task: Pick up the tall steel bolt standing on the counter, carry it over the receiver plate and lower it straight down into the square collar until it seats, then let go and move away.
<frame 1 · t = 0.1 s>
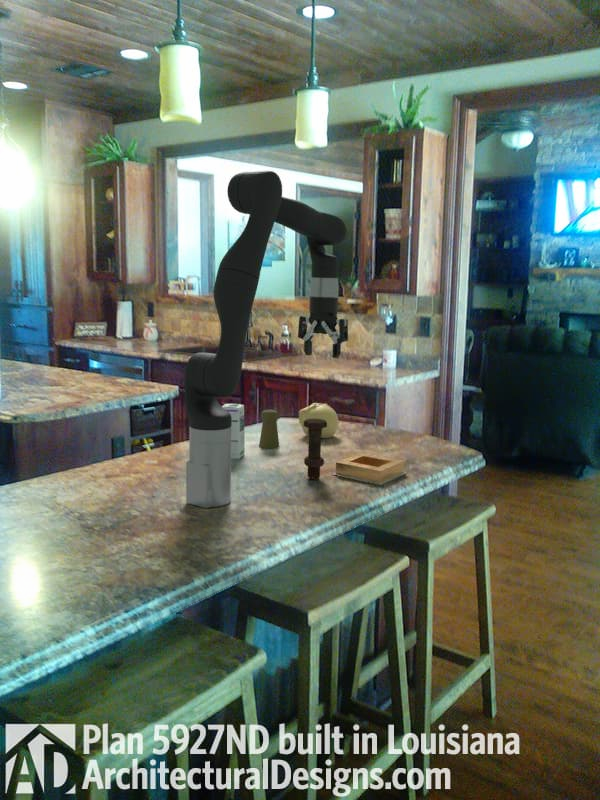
hand: (321, 356, 193), 29 cm above the countertop, tool pointing down, fingers open, 8 cm apart
receiver: (370, 474, 187), on the countertop
cork: (269, 447, 214), on the countertop
sculpture: (319, 437, 229), on the countertop
syrup box: (231, 456, 202), on the countertop
bolt: (313, 479, 182), on the countertop
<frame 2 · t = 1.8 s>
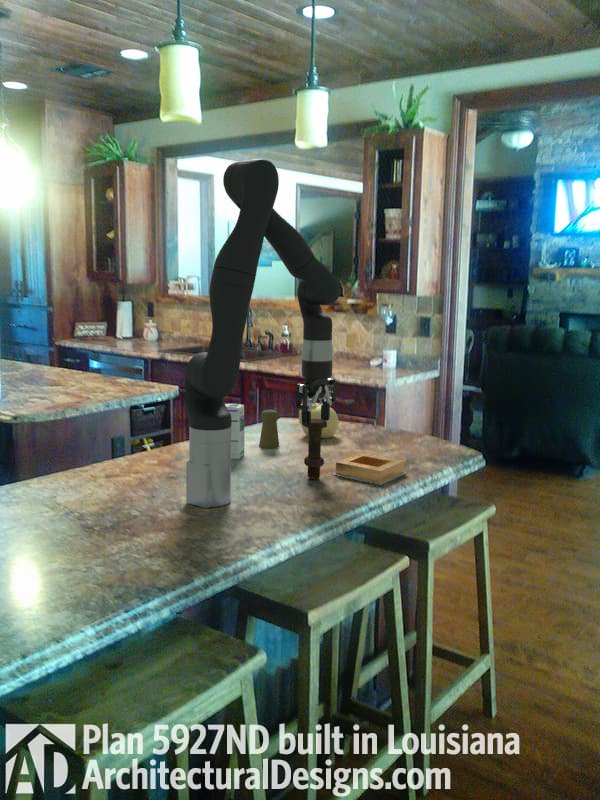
hand: (315, 422, 179), 14 cm above the countertop, tool pointing down, fingers open, 8 cm apart
nothing on the countertop moved.
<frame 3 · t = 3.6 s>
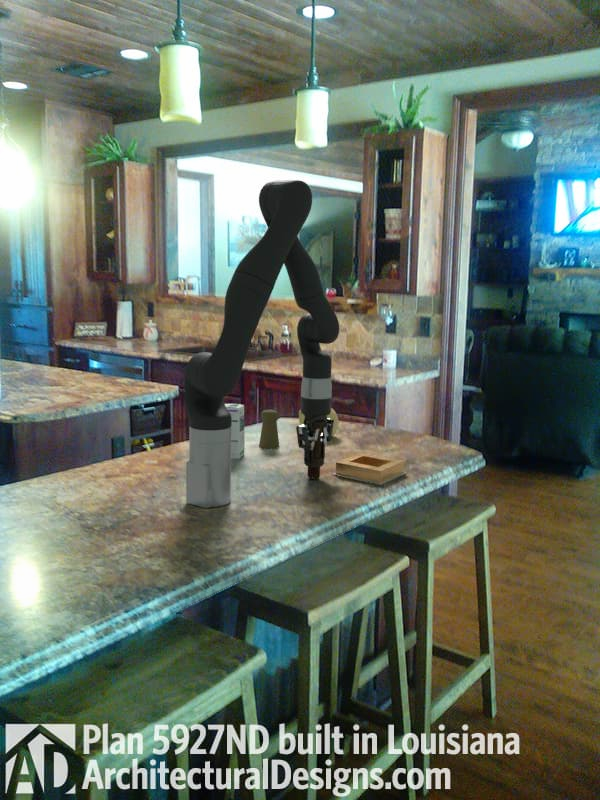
hand: (314, 461, 181), 4 cm above the countertop, tool pointing down, fingers closed on bolt, 4 cm apart
bolt: (313, 479, 182), on the countertop, touching gripper
everything else where it was.
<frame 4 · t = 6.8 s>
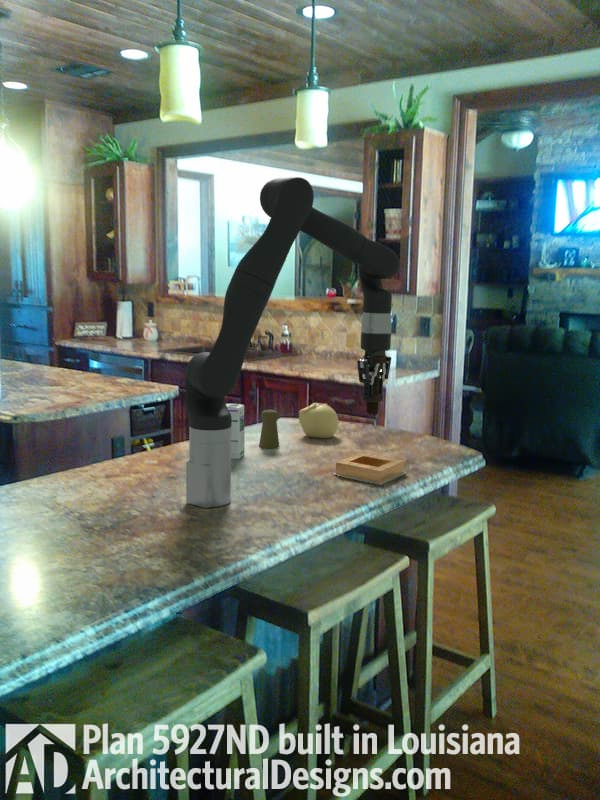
hand: (373, 397, 184), 20 cm above the countertop, tool pointing down, fingers closed on bolt, 4 cm apart
bolt: (372, 415, 184), point 16 cm above the countertop, touching gripper
everything else where it was.
when the fingers open (6 cm above the countertop, at t = 10.0 s): bolt stays where it is, resting on receiver.
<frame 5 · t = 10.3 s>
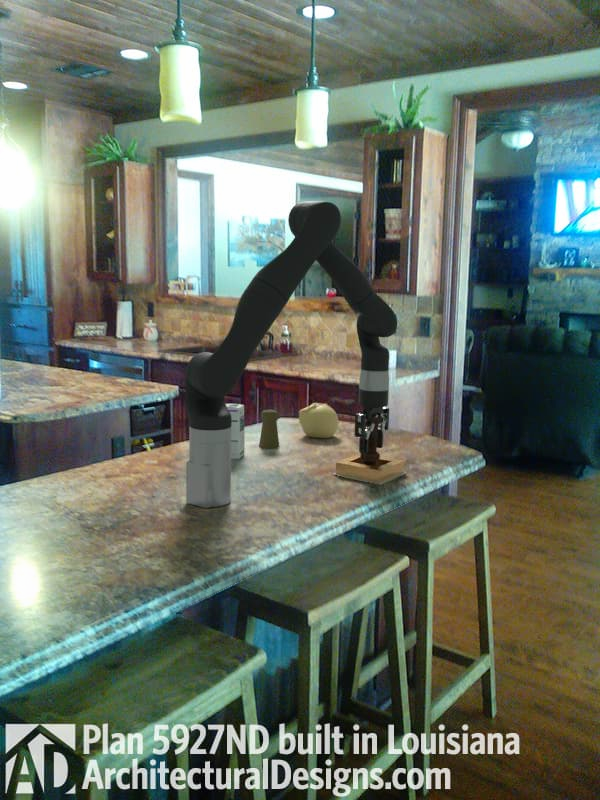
hand: (371, 450, 186), 6 cm above the countertop, tool pointing down, fingers open, 7 cm apart
bolt: (369, 473, 187), resting on receiver
everything else where it was.
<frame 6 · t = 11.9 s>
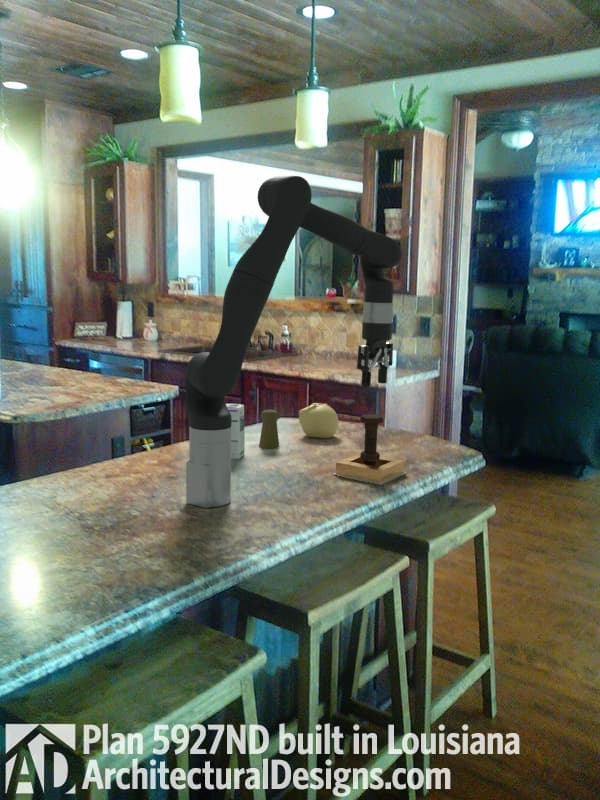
hand: (374, 384, 183), 23 cm above the countertop, tool pointing down, fingers open, 8 cm apart
nothing on the countertop moved.
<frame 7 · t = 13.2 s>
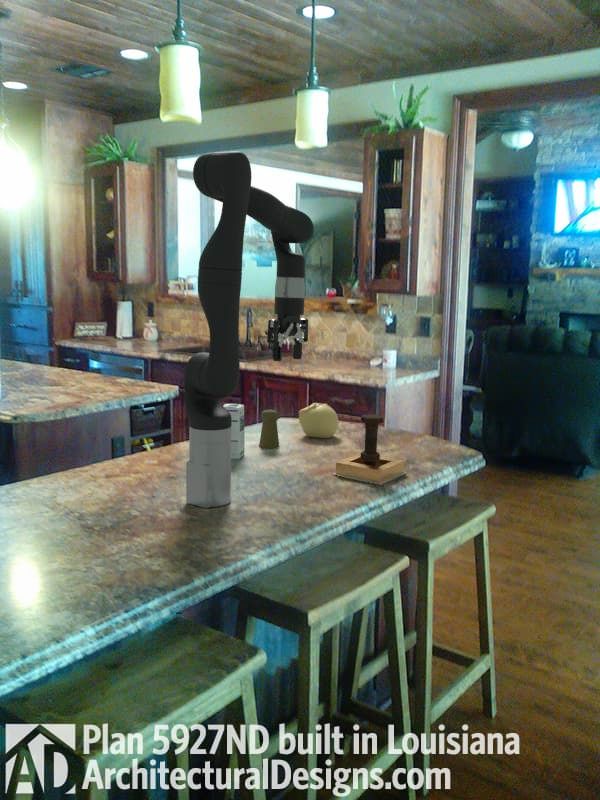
hand: (287, 360, 184), 29 cm above the countertop, tool pointing down, fingers open, 8 cm apart
nothing on the countertop moved.
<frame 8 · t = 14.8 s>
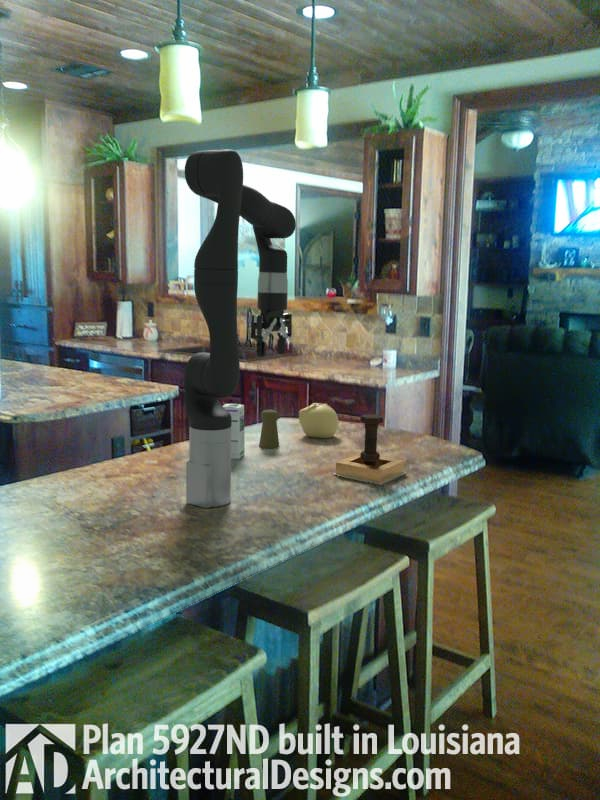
hand: (271, 355, 184), 30 cm above the countertop, tool pointing down, fingers open, 8 cm apart
nothing on the countertop moved.
at the end: bolt 0.3 cm off-centre on the receiver, point 0.2 cm above the receiver's base; bolt tilted 1°; the gripper is holding nothing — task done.
